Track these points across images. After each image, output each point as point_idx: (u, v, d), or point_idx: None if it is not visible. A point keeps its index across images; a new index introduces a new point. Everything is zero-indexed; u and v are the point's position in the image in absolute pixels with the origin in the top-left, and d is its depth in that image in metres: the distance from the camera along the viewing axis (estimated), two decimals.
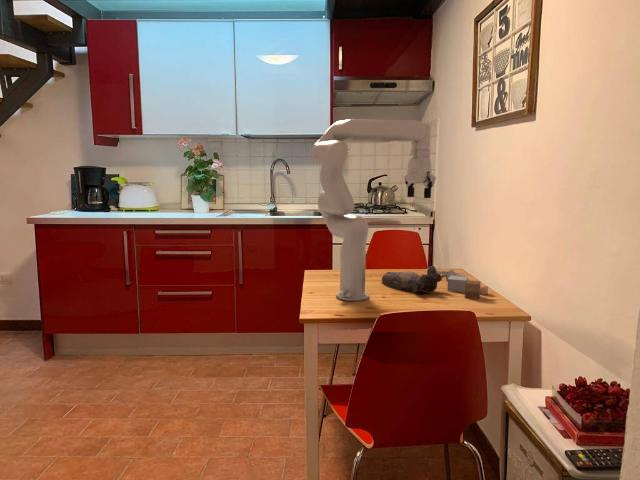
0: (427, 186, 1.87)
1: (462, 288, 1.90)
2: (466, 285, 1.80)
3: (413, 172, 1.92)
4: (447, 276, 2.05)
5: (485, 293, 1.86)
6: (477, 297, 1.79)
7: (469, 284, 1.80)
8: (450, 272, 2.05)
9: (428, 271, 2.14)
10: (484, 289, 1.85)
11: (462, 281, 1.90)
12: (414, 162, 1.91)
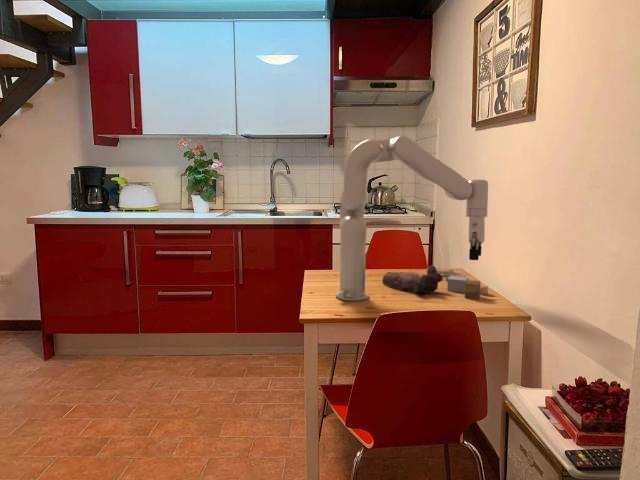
0: (481, 243, 1.85)
1: (462, 288, 1.90)
2: (466, 285, 1.80)
3: (483, 231, 1.77)
4: (447, 276, 2.05)
5: (485, 293, 1.86)
6: (477, 297, 1.79)
7: (469, 284, 1.80)
8: (450, 272, 2.06)
9: (428, 271, 2.15)
10: (484, 289, 1.85)
11: (462, 281, 1.90)
12: (484, 221, 1.77)
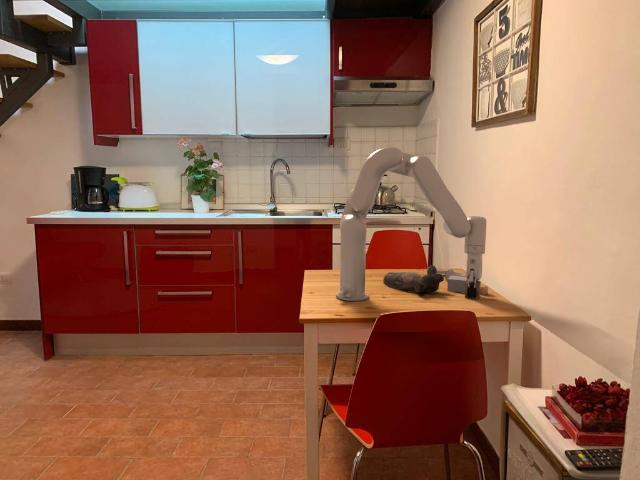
0: None
1: (462, 288, 1.90)
2: (466, 285, 1.80)
3: (481, 268, 1.79)
4: (446, 275, 2.06)
5: (485, 293, 1.86)
6: (477, 297, 1.79)
7: None
8: (449, 272, 2.06)
9: (428, 270, 2.15)
10: (484, 289, 1.85)
11: (462, 281, 1.90)
12: (481, 257, 1.79)
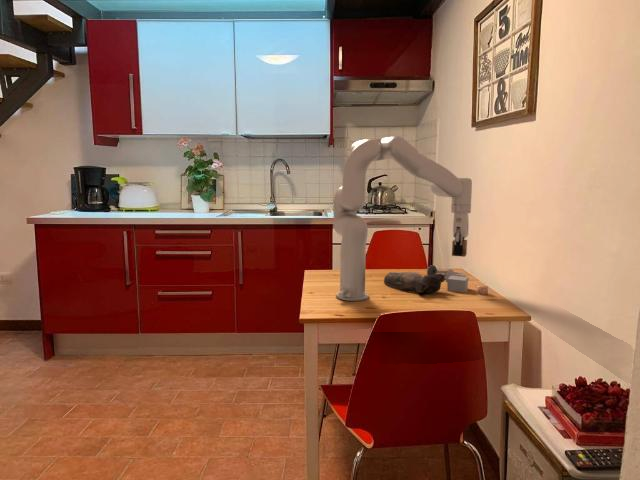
0: None
1: (462, 288, 1.90)
2: (453, 243, 1.90)
3: (467, 226, 1.89)
4: (446, 275, 2.06)
5: (485, 293, 1.86)
6: (463, 254, 1.89)
7: None
8: (449, 271, 2.07)
9: (428, 270, 2.16)
10: (484, 289, 1.85)
11: (462, 281, 1.90)
12: (467, 217, 1.89)
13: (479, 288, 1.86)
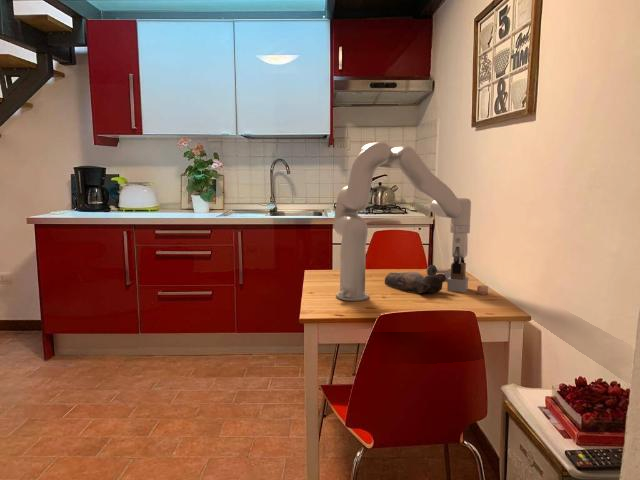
0: (464, 257, 1.97)
1: (462, 288, 1.90)
2: (452, 266, 1.92)
3: (466, 246, 1.90)
4: (445, 275, 2.07)
5: (485, 293, 1.86)
6: (462, 277, 1.90)
7: None
8: (448, 271, 2.07)
9: (428, 270, 2.17)
10: (484, 289, 1.85)
11: (462, 281, 1.90)
12: (466, 237, 1.90)
13: (479, 288, 1.86)
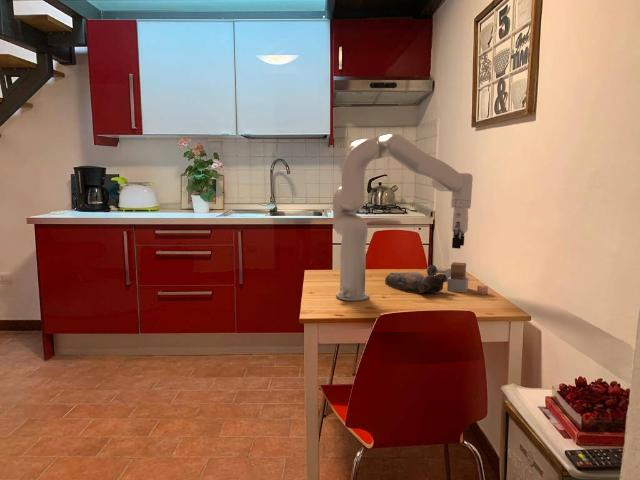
0: None
1: (462, 288, 1.90)
2: (452, 266, 1.91)
3: (466, 222, 1.89)
4: None
5: (485, 293, 1.86)
6: (462, 277, 1.90)
7: (454, 265, 1.91)
8: (448, 271, 2.07)
9: (428, 270, 2.17)
10: (484, 289, 1.85)
11: (462, 281, 1.90)
12: (467, 212, 1.89)
13: (479, 288, 1.86)
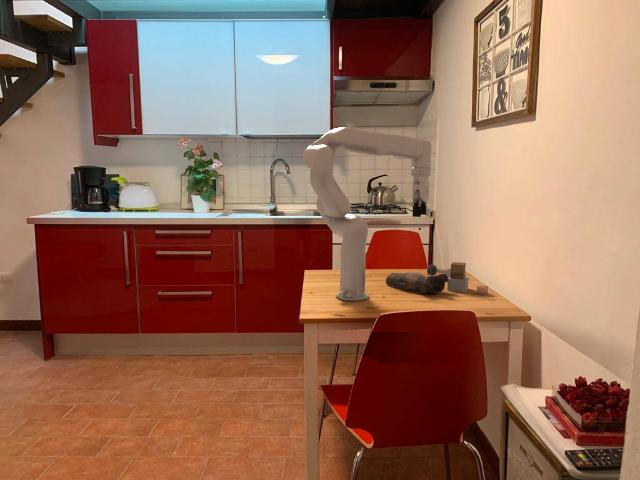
0: None
1: (462, 288, 1.90)
2: (451, 266, 1.92)
3: (427, 190, 1.87)
4: None
5: (485, 293, 1.86)
6: (462, 277, 1.91)
7: (454, 265, 1.91)
8: (448, 271, 2.08)
9: (428, 269, 2.17)
10: (484, 289, 1.85)
11: (462, 281, 1.90)
12: (427, 180, 1.87)
13: (479, 288, 1.86)
